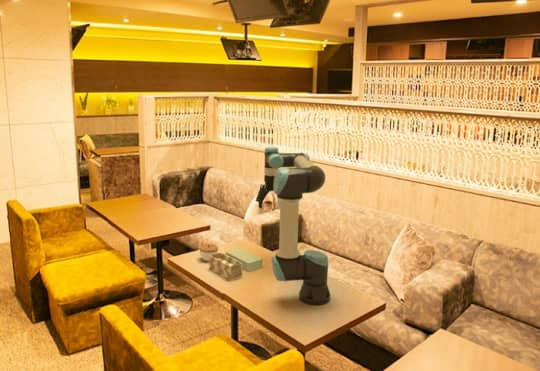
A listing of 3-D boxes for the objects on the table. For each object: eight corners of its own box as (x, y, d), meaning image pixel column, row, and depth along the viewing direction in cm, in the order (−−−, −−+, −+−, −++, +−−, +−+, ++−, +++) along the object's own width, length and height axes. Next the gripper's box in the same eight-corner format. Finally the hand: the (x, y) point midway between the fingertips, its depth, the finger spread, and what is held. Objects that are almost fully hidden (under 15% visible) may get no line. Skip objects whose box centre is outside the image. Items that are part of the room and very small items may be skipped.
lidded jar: (210, 264, 263) (210, 249, 261) (196, 260, 268) (195, 245, 266) (222, 258, 272) (221, 243, 270) (207, 255, 277) (207, 240, 275)
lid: (262, 267, 260) (262, 259, 259) (248, 271, 254) (248, 263, 253) (239, 256, 276) (239, 248, 275) (225, 259, 270) (225, 251, 269)
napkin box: (242, 277, 247) (242, 263, 245) (230, 281, 242) (230, 266, 240) (221, 265, 262) (221, 252, 260) (209, 269, 257) (209, 255, 255)
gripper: (282, 171, 268) (282, 206, 273) (249, 176, 252) (249, 213, 257) (291, 173, 263) (290, 209, 267) (258, 178, 247) (258, 216, 251)
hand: (270, 211), depth 262 cm, fingers open, 13 cm apart
